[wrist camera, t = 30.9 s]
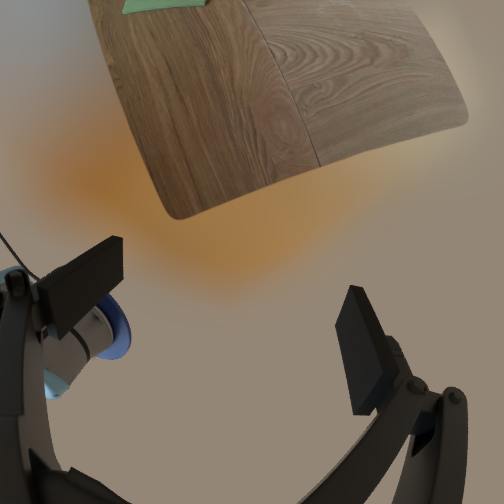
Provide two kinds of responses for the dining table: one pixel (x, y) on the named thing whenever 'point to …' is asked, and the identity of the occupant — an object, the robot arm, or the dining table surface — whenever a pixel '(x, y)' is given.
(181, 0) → the green mat
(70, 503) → the robot arm
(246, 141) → the dining table surface
